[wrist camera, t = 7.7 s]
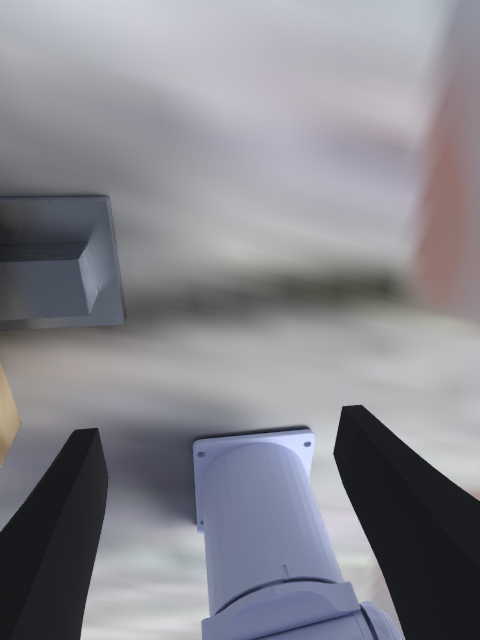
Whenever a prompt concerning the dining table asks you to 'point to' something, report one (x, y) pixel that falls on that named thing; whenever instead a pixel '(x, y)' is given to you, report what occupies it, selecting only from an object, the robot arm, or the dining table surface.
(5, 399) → the bar
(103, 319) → the ridge
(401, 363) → the dining table surface
